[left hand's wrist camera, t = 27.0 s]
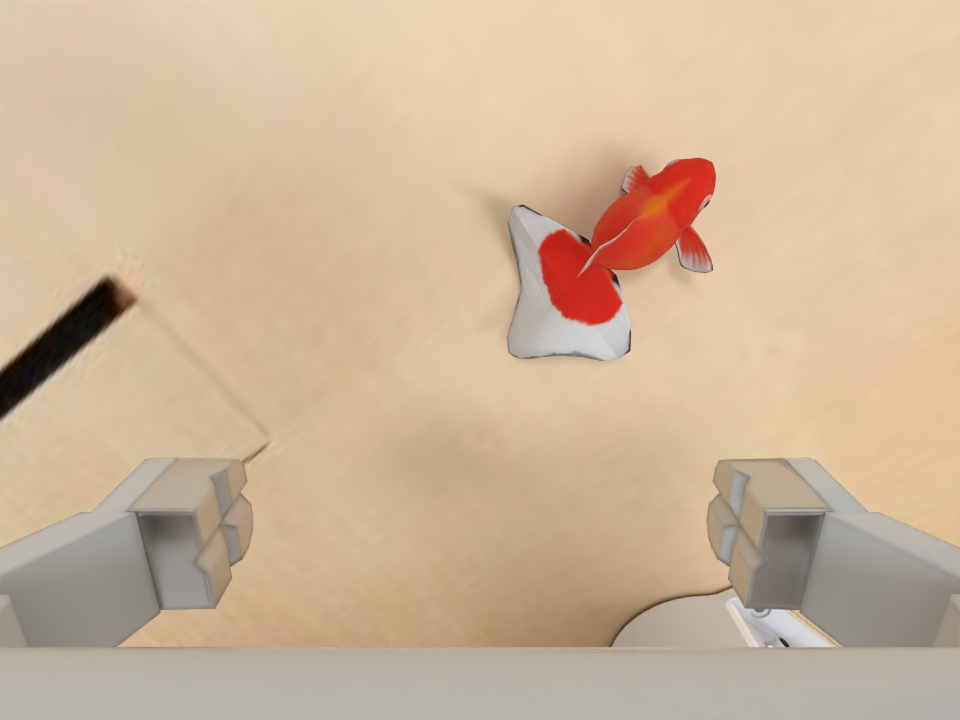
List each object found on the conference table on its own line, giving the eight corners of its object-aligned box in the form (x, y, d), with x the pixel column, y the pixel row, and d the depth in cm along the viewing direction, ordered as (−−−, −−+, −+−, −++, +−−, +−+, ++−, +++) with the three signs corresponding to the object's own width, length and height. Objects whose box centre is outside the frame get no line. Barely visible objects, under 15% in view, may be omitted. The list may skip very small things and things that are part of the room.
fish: (780, 295, 35) (756, 326, 27) (559, 370, 44) (491, 411, 36) (713, 126, 35) (668, 106, 27) (505, 237, 44) (424, 247, 36)
